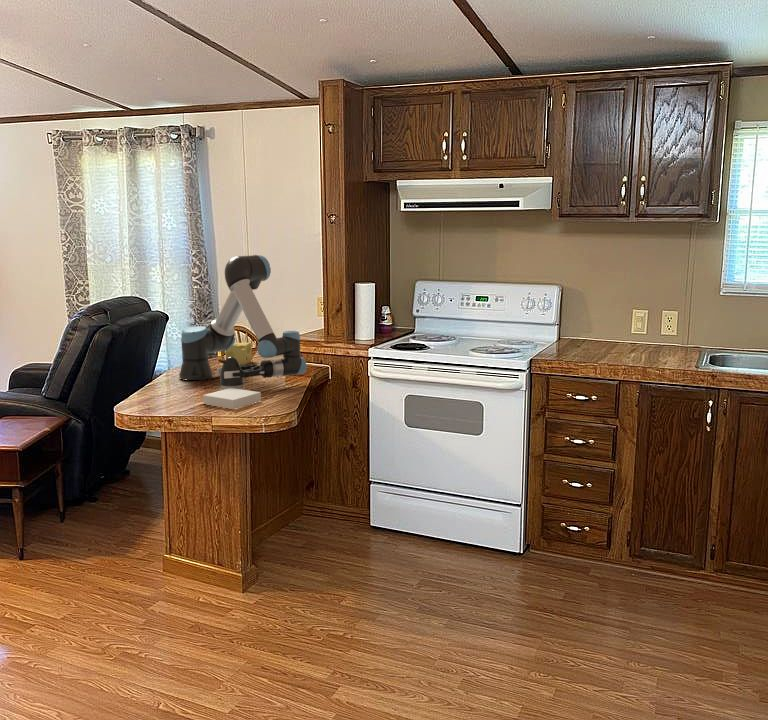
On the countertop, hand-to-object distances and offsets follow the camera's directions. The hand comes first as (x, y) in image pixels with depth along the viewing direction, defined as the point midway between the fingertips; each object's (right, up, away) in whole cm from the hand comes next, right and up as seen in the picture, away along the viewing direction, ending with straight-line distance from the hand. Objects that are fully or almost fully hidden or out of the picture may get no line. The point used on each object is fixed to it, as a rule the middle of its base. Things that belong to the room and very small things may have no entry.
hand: (220, 373), depth 338 cm
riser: (+8, -12, -18) cm, 23 cm away
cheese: (-5, +4, +71) cm, 71 cm away
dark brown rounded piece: (+4, -8, +4) cm, 10 cm away
